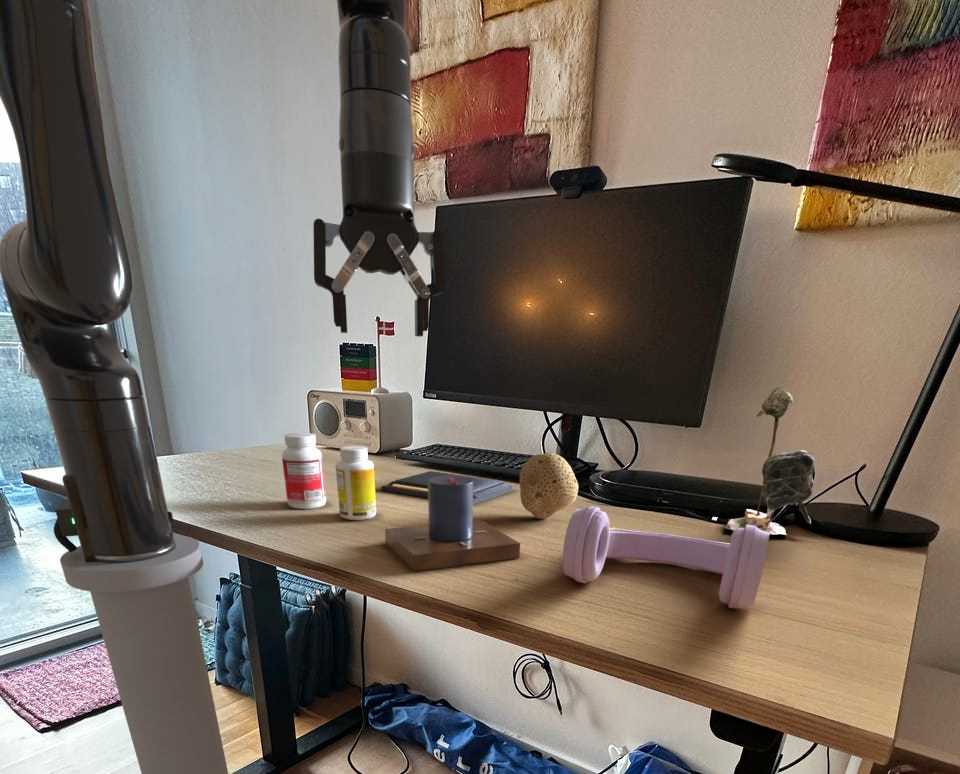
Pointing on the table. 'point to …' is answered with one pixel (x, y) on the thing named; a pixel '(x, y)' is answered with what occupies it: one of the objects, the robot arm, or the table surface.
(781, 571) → the table surface
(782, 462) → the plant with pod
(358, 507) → the supplement bottle
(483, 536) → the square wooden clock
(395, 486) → the dark blue book
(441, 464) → the table surface
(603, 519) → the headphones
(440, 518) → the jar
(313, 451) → the pill bottle
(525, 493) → the natural sponge
